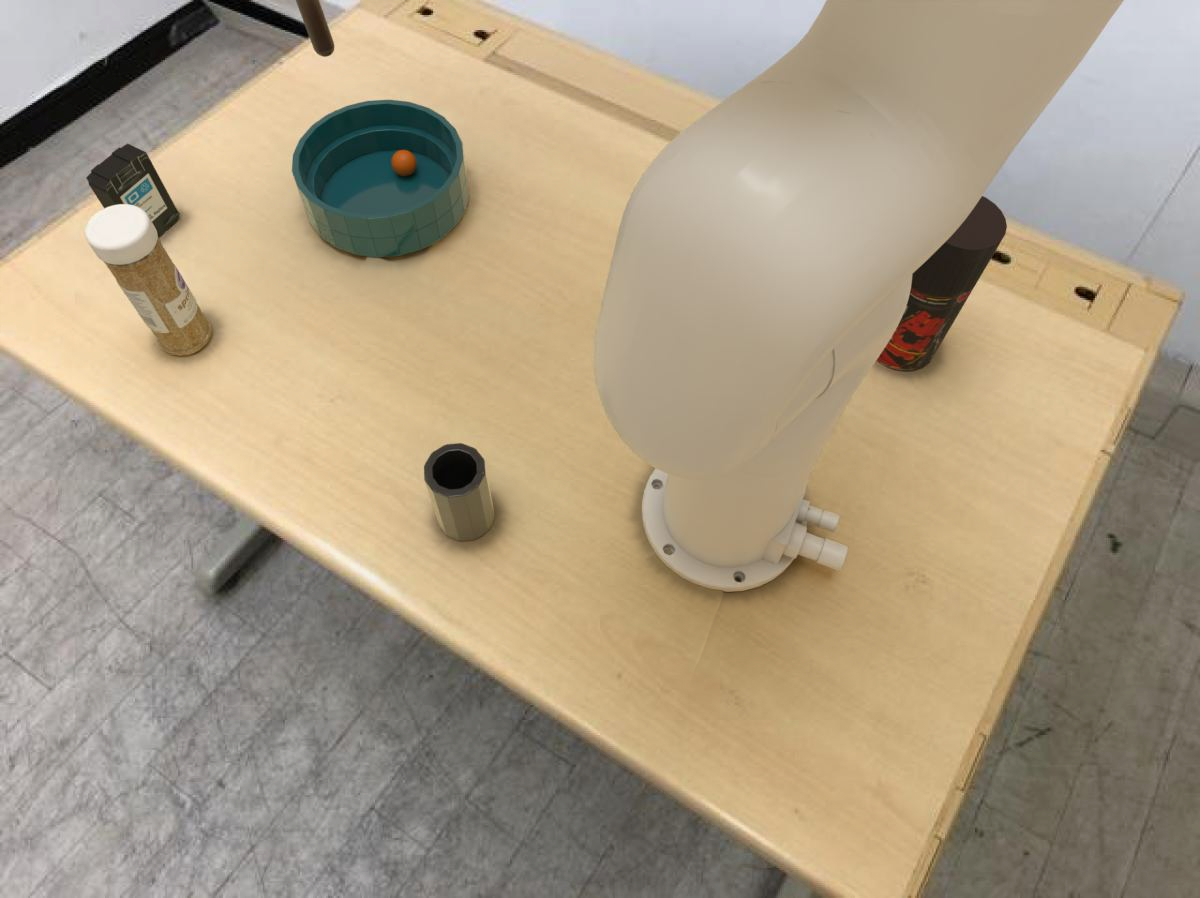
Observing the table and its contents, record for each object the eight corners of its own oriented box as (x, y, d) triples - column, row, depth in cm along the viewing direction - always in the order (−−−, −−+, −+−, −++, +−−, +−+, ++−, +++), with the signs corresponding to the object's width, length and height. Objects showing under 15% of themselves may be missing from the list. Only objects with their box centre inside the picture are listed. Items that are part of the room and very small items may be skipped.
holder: (503, 506, 68) (495, 455, 62) (479, 552, 67) (467, 505, 60) (455, 487, 69) (441, 435, 62) (430, 532, 67) (412, 483, 60)
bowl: (496, 172, 87) (491, 126, 82) (421, 282, 79) (411, 239, 75) (360, 129, 89) (348, 82, 84) (276, 231, 82) (258, 186, 77)
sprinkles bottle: (221, 342, 76) (156, 231, 64) (169, 366, 74) (93, 256, 63) (201, 307, 78) (135, 192, 66) (150, 329, 76) (73, 216, 65)
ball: (423, 168, 86) (419, 148, 84) (411, 184, 85) (406, 164, 83) (401, 161, 86) (396, 141, 84) (389, 177, 85) (384, 157, 83)
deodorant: (947, 342, 77) (1022, 218, 64) (910, 383, 75) (979, 263, 62) (891, 305, 79) (952, 177, 66) (852, 344, 77) (908, 219, 64)
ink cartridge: (144, 252, 81) (103, 186, 74) (125, 242, 81) (83, 176, 74) (182, 217, 83) (146, 150, 76) (163, 208, 83) (126, 140, 76)
